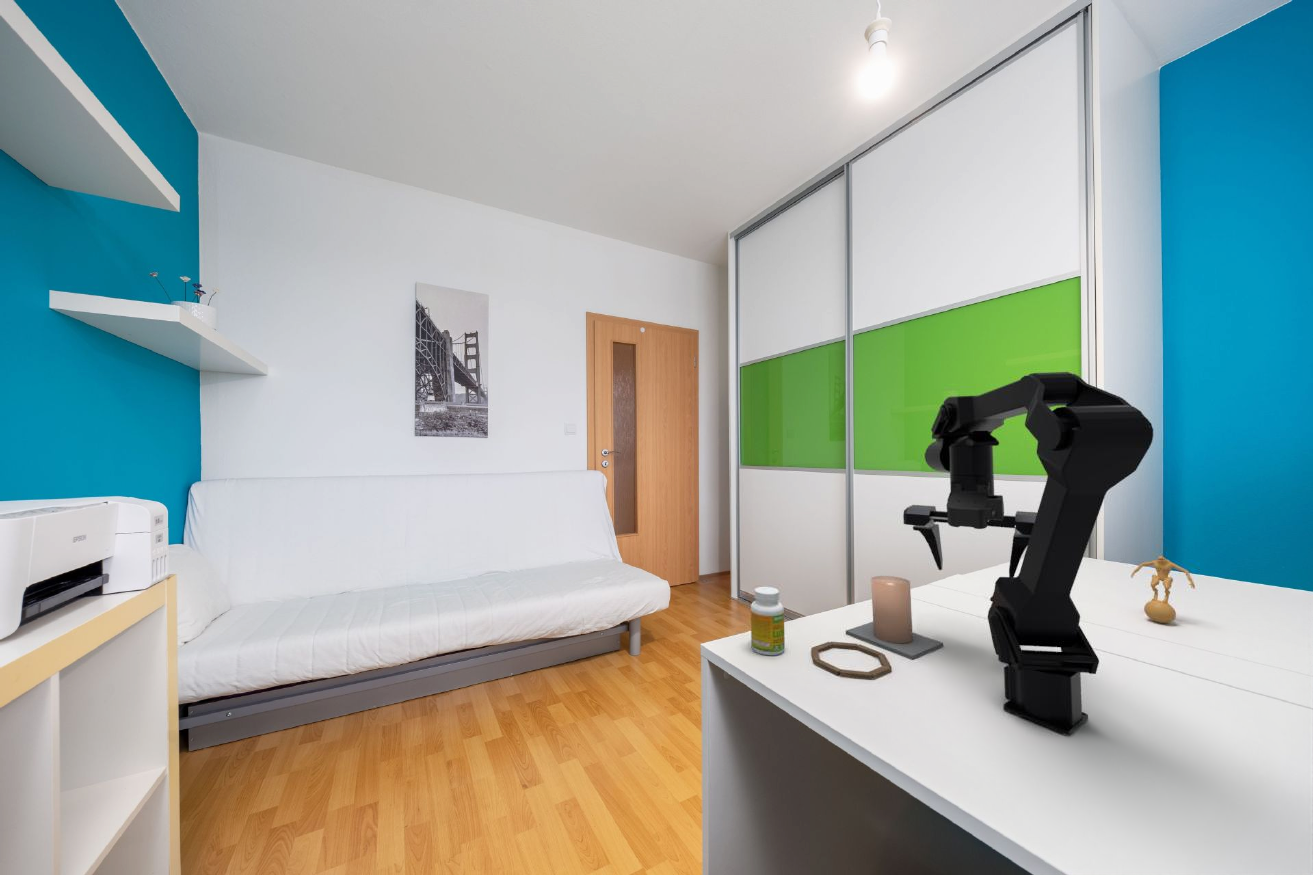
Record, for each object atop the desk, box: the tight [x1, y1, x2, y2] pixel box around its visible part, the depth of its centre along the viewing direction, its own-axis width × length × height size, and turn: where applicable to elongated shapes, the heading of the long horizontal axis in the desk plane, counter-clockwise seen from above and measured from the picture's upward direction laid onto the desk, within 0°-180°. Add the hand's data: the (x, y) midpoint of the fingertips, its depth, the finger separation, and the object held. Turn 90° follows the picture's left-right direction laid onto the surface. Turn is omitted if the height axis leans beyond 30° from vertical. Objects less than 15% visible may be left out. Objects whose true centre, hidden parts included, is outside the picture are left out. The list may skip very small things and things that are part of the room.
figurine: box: [1130, 555, 1196, 624], centre depth 86 cm, size 8×6×12 cm
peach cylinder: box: [870, 575, 914, 643], centre depth 79 cm, size 6×6×10 cm
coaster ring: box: [810, 641, 892, 680], centre depth 72 cm, size 11×11×1 cm
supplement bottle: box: [750, 586, 786, 656], centre depth 76 cm, size 5×5×10 cm
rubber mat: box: [845, 621, 944, 660], centre depth 79 cm, size 12×9×1 cm
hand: (974, 574), depth 72 cm, fingers open, 9 cm apart
